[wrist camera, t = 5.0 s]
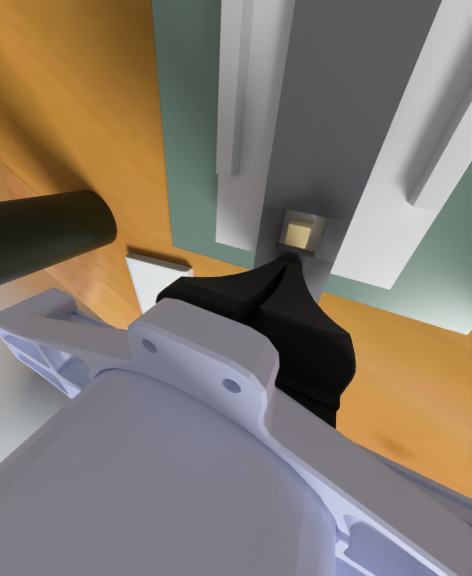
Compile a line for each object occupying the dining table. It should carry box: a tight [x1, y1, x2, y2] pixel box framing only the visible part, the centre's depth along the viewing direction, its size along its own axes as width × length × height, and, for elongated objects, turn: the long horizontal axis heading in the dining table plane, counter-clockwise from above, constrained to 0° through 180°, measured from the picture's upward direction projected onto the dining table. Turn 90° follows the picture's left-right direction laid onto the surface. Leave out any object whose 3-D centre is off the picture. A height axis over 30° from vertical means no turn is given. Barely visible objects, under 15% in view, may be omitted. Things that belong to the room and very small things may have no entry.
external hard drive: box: [125, 253, 194, 314], centre depth 25 cm, size 2×8×12 cm
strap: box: [253, 0, 442, 304], centre depth 8 cm, size 16×4×1 cm, turn 175°
